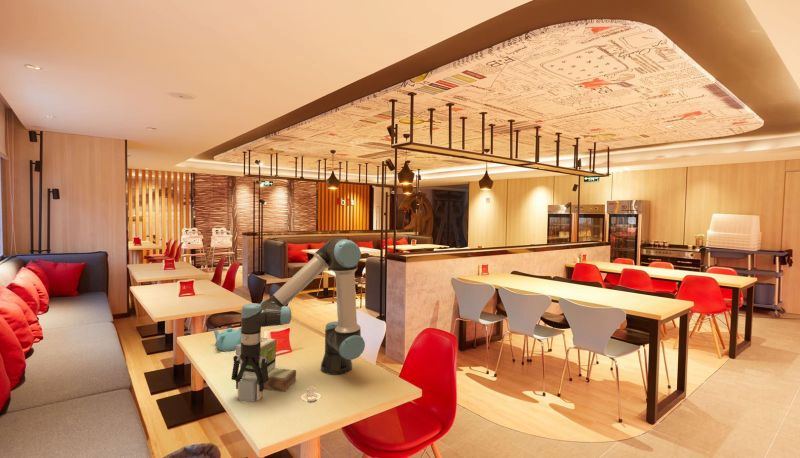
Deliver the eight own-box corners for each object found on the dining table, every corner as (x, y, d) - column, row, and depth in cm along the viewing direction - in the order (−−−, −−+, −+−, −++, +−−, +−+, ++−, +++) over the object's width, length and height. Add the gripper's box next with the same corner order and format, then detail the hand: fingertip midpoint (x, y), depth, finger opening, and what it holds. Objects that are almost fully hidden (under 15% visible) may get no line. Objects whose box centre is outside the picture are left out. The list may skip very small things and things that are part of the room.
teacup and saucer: (315, 404, 161) (315, 394, 161) (296, 402, 163) (297, 392, 162) (323, 394, 170) (323, 385, 170) (305, 392, 171) (305, 383, 171)
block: (260, 395, 166) (260, 376, 166) (253, 402, 160) (253, 382, 160) (246, 394, 167) (247, 375, 167) (239, 400, 161) (239, 381, 161)
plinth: (295, 381, 181) (296, 369, 181) (285, 391, 170) (285, 379, 170) (272, 378, 183) (273, 367, 183) (261, 389, 172) (261, 376, 172)
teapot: (213, 345, 225) (213, 326, 224) (242, 341, 232) (242, 323, 232) (215, 354, 212) (215, 333, 211) (245, 350, 219) (246, 330, 218)
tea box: (259, 380, 180) (259, 348, 180) (239, 378, 182) (239, 346, 182) (276, 368, 195) (276, 338, 194) (257, 366, 197) (257, 336, 196)
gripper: (222, 343, 160) (221, 399, 161) (270, 347, 157) (268, 404, 158) (232, 337, 168) (231, 391, 169) (278, 341, 165) (277, 396, 166)
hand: (249, 397), depth 164 cm, fingers open, 7 cm apart
